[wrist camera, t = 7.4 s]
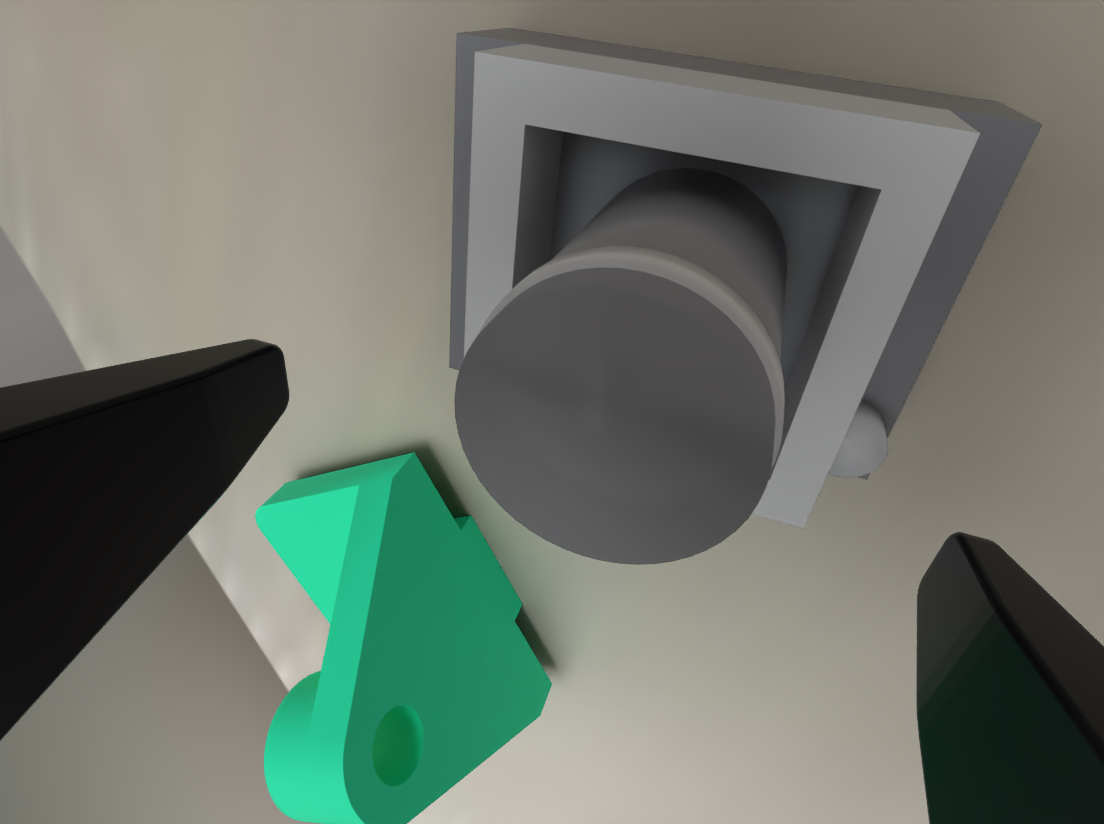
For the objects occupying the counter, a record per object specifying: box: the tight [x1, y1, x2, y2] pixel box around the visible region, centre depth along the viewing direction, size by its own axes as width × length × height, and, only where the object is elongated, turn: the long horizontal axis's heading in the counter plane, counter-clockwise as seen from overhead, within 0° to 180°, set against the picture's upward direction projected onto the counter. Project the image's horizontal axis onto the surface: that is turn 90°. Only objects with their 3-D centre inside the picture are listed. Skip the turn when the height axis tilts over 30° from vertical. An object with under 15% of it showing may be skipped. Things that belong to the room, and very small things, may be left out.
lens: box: [455, 168, 787, 564], centre depth 12 cm, size 5×5×7 cm
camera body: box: [449, 28, 1042, 529], centre depth 15 cm, size 11×8×6 cm
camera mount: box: [255, 452, 552, 824], centre depth 24 cm, size 12×8×10 cm, turn 26°
